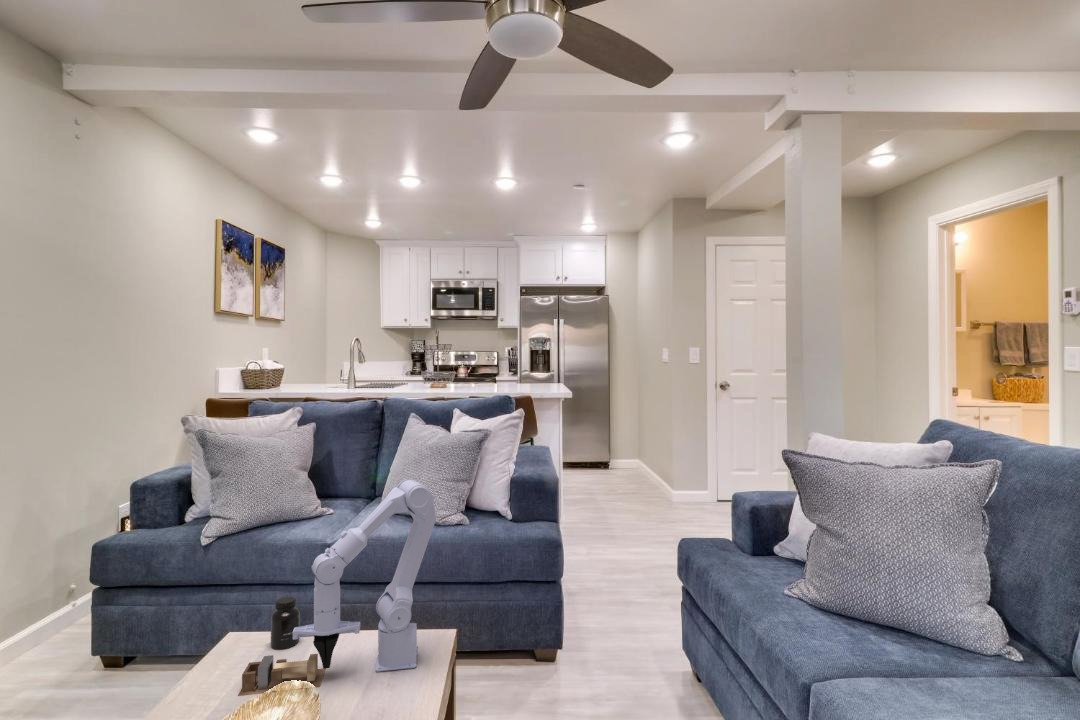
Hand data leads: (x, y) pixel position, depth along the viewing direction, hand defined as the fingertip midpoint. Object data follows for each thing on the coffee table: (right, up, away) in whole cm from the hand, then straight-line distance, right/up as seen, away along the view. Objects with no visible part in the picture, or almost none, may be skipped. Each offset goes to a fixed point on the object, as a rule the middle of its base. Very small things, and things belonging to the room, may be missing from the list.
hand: (326, 666), depth 130 cm
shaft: (-7, -2, -1) cm, 7 cm away
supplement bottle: (-17, -4, +16) cm, 23 cm away
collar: (-13, -2, -3) cm, 13 cm away
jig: (-9, -3, -2) cm, 10 cm away
